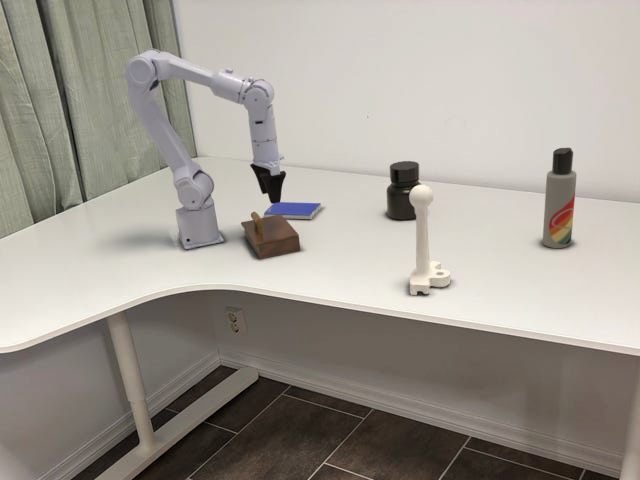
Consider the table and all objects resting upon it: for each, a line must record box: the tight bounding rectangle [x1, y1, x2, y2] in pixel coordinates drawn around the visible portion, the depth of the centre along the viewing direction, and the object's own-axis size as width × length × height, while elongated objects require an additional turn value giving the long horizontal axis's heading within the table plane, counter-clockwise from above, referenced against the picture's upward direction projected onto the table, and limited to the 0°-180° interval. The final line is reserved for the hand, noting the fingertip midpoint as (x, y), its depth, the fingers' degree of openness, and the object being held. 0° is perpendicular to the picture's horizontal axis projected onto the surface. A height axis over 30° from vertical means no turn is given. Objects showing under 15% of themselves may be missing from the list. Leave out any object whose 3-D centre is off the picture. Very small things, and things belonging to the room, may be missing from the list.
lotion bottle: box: [542, 147, 577, 249], centre depth 159 cm, size 6×6×20 cm
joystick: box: [409, 184, 451, 296], centre depth 149 cm, size 11×8×20 cm
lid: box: [240, 211, 300, 246], centre depth 178 cm, size 10×15×4 cm
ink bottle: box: [386, 160, 423, 221], centre depth 185 cm, size 10×9×12 cm
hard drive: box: [263, 201, 322, 220], centre depth 197 cm, size 2×8×12 cm
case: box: [243, 228, 301, 260], centre depth 180 cm, size 9×15×3 cm, turn 16°
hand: (271, 197), depth 179 cm, fingers open, 7 cm apart
